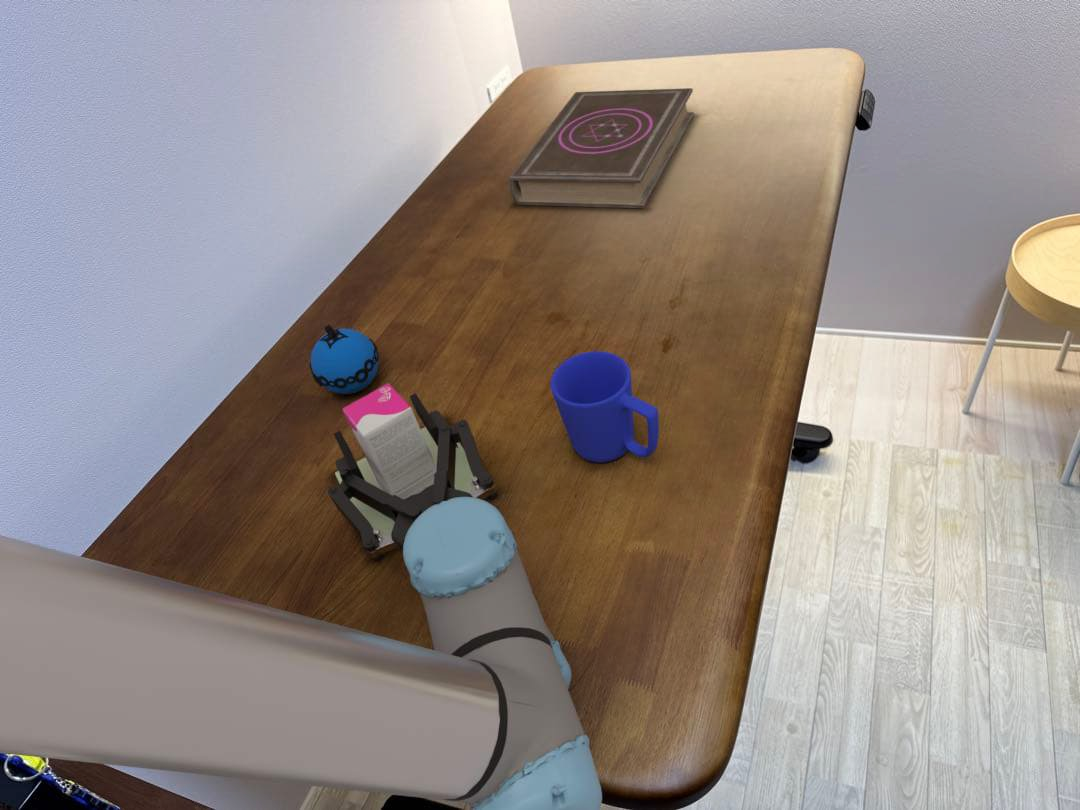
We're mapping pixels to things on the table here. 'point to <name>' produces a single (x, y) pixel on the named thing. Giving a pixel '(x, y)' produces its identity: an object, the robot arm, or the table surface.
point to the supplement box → (392, 442)
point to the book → (604, 149)
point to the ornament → (344, 361)
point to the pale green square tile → (374, 517)
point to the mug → (601, 407)
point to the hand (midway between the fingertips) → (379, 421)
